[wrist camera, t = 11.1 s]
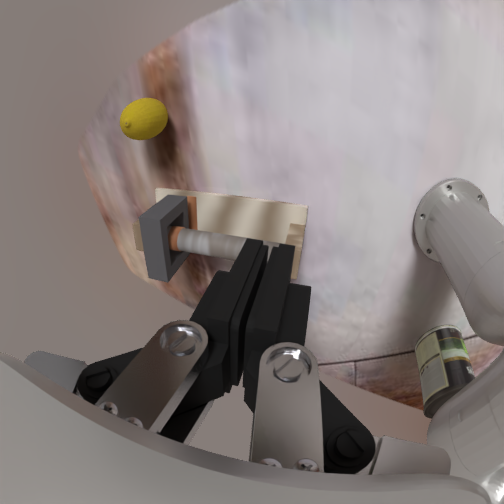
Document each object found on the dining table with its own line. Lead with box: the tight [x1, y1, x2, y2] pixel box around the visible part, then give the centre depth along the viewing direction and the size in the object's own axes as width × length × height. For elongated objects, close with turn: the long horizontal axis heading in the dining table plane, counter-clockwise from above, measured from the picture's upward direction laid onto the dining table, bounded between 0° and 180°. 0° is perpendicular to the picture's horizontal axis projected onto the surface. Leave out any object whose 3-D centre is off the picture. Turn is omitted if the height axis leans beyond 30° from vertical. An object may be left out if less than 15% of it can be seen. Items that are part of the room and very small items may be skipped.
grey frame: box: [139, 195, 190, 282], centre depth 37 cm, size 3×9×8 cm, turn 176°
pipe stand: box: [132, 188, 308, 279], centre depth 38 cm, size 22×9×8 cm, turn 86°
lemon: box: [120, 98, 168, 140], centre depth 31 cm, size 6×6×8 cm
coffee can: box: [415, 325, 475, 418], centre depth 38 cm, size 10×10×14 cm
